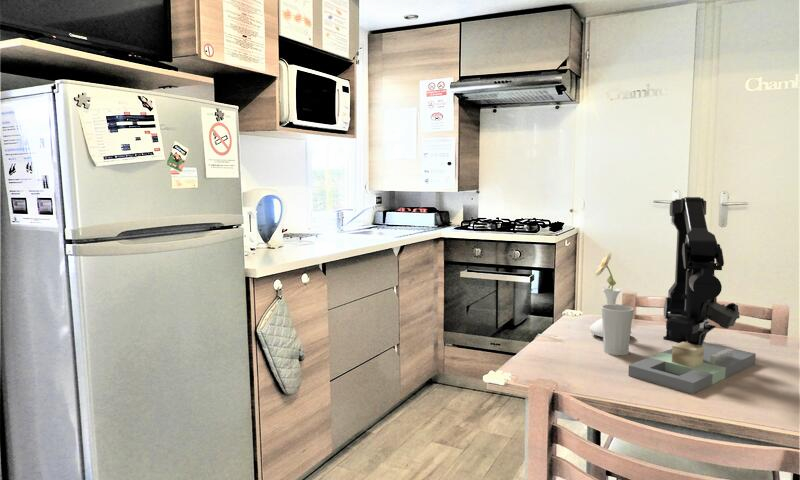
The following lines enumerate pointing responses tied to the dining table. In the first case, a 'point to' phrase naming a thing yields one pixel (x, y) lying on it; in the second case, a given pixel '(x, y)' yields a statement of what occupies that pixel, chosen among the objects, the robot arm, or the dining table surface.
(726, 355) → the channel rails
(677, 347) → the beech block
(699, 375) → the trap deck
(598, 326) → the flower in vase
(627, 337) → the cup
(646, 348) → the dining table surface
